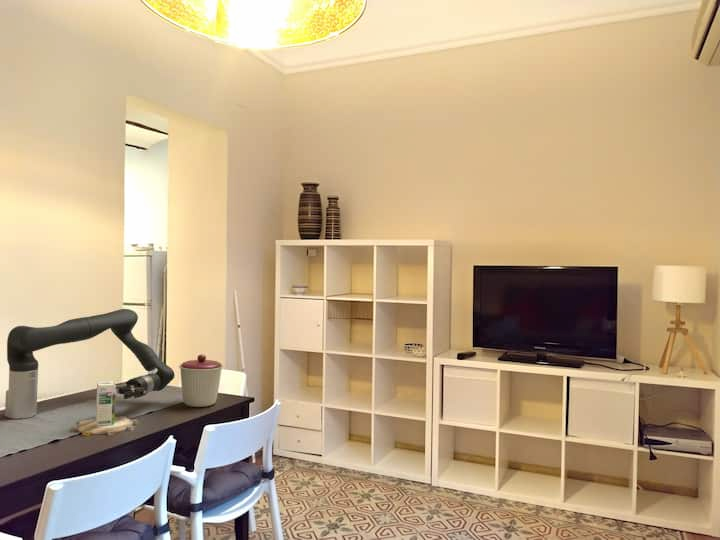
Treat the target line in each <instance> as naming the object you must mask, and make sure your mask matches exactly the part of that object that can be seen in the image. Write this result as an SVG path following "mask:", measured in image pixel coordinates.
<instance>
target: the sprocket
mask: <svg viewBox="0 0 720 540" xmlns="http://www.w3.org/2000/svg"><path fill="white" fill-rule="evenodd" d="M77 424H78V425H77ZM138 424H139V420H138V419H130V418H127V416H126V415H125V416H124V415H120V416H115V419H114V425H103V426H97V424H96V417H95V418H91V419H87V420H86V419H85V420H83V419H82V420H78V421H76V425H77V426H70V427H71V428H70V431H71V430H72V431H71V432H79V433H81V434H82V435H81V436H87V437H89V436H91V435H107V436H114V435H115V434H116V433H121V431H122V432H124V431H134V430H135V426H134V425H138ZM76 430H78V431H76Z"/></svg>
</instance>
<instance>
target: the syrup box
mask: <svg viewBox="0 0 720 540" xmlns="http://www.w3.org/2000/svg"><path fill="white" fill-rule="evenodd" d="M116 385H117V384H116V382H115V381H103V382H102V381H101V382H97V383H96V402H95V403H96V409H95V418H96V424H97V426H103V425H114V419H115V417H116V415H115V413H116V395H115V393H116Z"/></svg>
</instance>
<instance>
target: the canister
mask: <svg viewBox="0 0 720 540" xmlns="http://www.w3.org/2000/svg"><path fill="white" fill-rule="evenodd" d="M178 368H179V369H180V381H181V382H180V383H181V395H182V401H183V404H184V405H186V406H188V407H193V408H203V407H204V408H205V407H209V406H212V405H214V404H215V403H216V401H217V399H218V393H219V388H220V382H221V374H222V370H223V368H224V365H223V364H222V363H221V362H220V361H218V360H212V359H207V356H206V355H205V354H199V355H198V356H197V358H196V359H192V360H191V359H190V360H186V361H184V362H182V363H181V364H179V365H178Z"/></svg>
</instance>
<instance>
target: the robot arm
mask: <svg viewBox="0 0 720 540" xmlns="http://www.w3.org/2000/svg"><path fill="white" fill-rule="evenodd" d="M138 320H139V316H138V314H137V313H136V311H134V310H132V309H130V308H129V309H128V308H120V309H117V310H114V311H110V312H106V313H102V314H96V315H91V316H83V317H77V318H72V319H71V318H70V319H68V320H66V321H63V322H62V323H60V324H57V325H53V326H46V327H45V326H44V327H33V326H28V325H27V326H26V325H18V326H15V327H13V328H12V329H11V330H10V331H9V333H8V335H7V340H6V361H7V364H8V366H9V367H8V389H7V390H6V391H5V404H4V405H5V408H4V417H7V418H9V419H14V420H15V419H17V420H19V419H20V418H21V419H28V418H32V417H34V415H35V416H36V415H37V407H38V406H37V405H38V385H39V383H38V382H39V361H38V360H37V359H36V357H35V356H34V352H37V351H40V350H43V349H46V348H49V347H52V346H57V345H64V344H71V343H77V342H78V343H79V342H82V341H86V340H90V339H92V338H93V339H94V337H97V336H98V335H100V334H102V333H104V332H106V331H108V330H109V329H110V330H111V332H112V333H113V335H114V336H116V337H117V338H118V340H120V341H121V342H122V343H123V345H124V346H126V348H127V349H129V350H130V352H132V353H133V355H134V356H135V357H136V359H137V360H138V361H139V363H140V364H141V366H142V367H143V369H144V370H145V371H147V372H152V371H154V370H156V369H157V371H156V372H155V373H154V372H153V373H148V374H144V375H138V376H136V377H133V378H130V379H128V380H126V382H125V384H122V385H118V384H116V393H115V397H116V396H117V397H118V396H123V400H127V399H130V398H131V399H137V398H141V397H143V396H146V395H148V394H149V393H150V392H160V391H162V390H164V389H165V388H166V387H167V386H168V385H169V384H171V382H172V381H173V380H174V379H175V375H176V374H175V372H174V370H173V368H172V367H170V366H169V365H167V364H166V363H165V362H164V361H163V360H161V359H160V357H158V355H157V354H156V352H155V351H154V349H153V348H152V346H149V345H148V344H146V343H144V342H142V341H139V340H138V339H137V338H136V337H135V336H134V334H133V333H132V330H133V329H134V328H135V326H136V325H137V322H138ZM118 391H119V392H118ZM21 419H20V420H21Z"/></svg>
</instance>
